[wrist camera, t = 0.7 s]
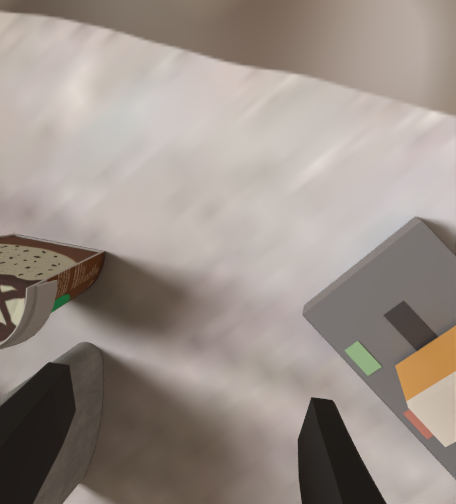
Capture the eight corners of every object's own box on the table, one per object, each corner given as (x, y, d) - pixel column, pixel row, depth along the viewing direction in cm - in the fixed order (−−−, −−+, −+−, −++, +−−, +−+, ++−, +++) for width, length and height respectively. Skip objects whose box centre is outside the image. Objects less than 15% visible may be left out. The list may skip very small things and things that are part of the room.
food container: (2, 293, 37) (-112, 337, 27) (0, 230, 35) (-121, 254, 26) (117, 320, 34) (35, 379, 25) (120, 254, 33) (34, 290, 23)
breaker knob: (493, 357, 24) (529, 400, 20) (425, 398, 26) (445, 447, 22) (460, 322, 24) (489, 358, 20) (395, 365, 26) (408, 407, 22)
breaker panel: (580, 391, 26) (601, 410, 24) (449, 461, 29) (458, 483, 27) (415, 216, 26) (422, 220, 24) (304, 305, 29) (302, 315, 27)
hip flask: (75, 337, 36) (-214, 529, 17) (113, 351, 35) (-144, 569, 16) (58, 471, 40) (-187, 744, 21) (92, 487, 39) (-131, 784, 20)
